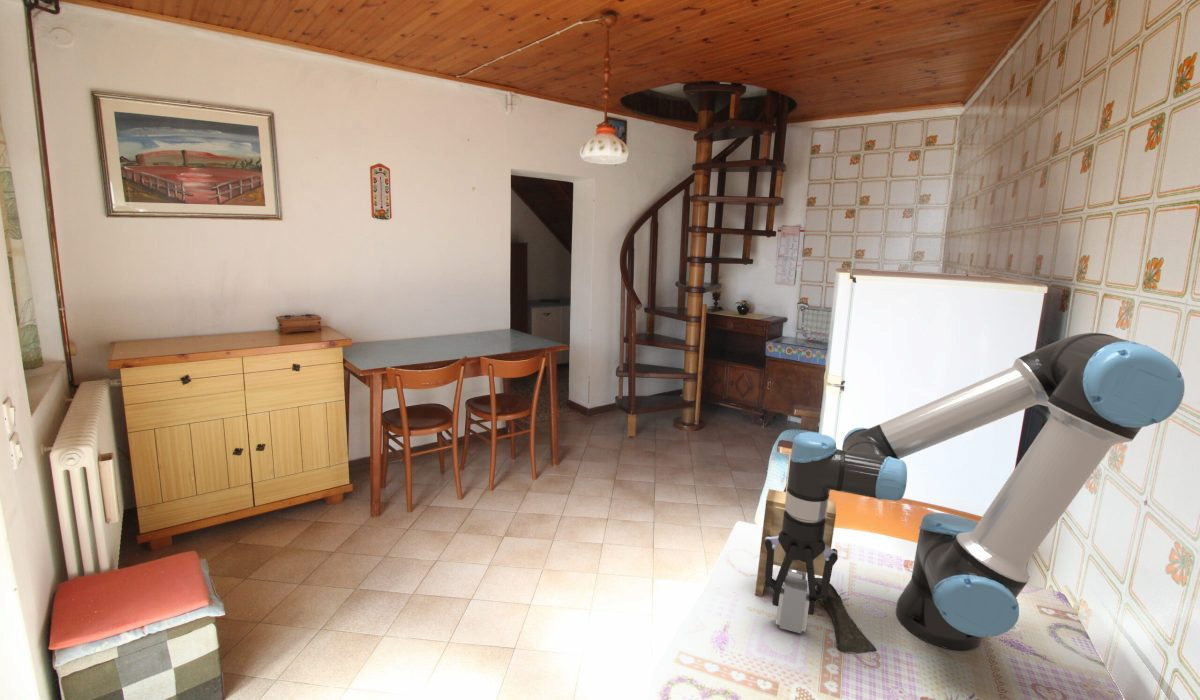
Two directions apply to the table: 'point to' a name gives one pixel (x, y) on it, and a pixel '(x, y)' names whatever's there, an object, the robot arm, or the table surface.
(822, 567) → the wall cabinet
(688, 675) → the table surface
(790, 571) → the grey short cylinder
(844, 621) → the tool
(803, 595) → the gray stepped block
